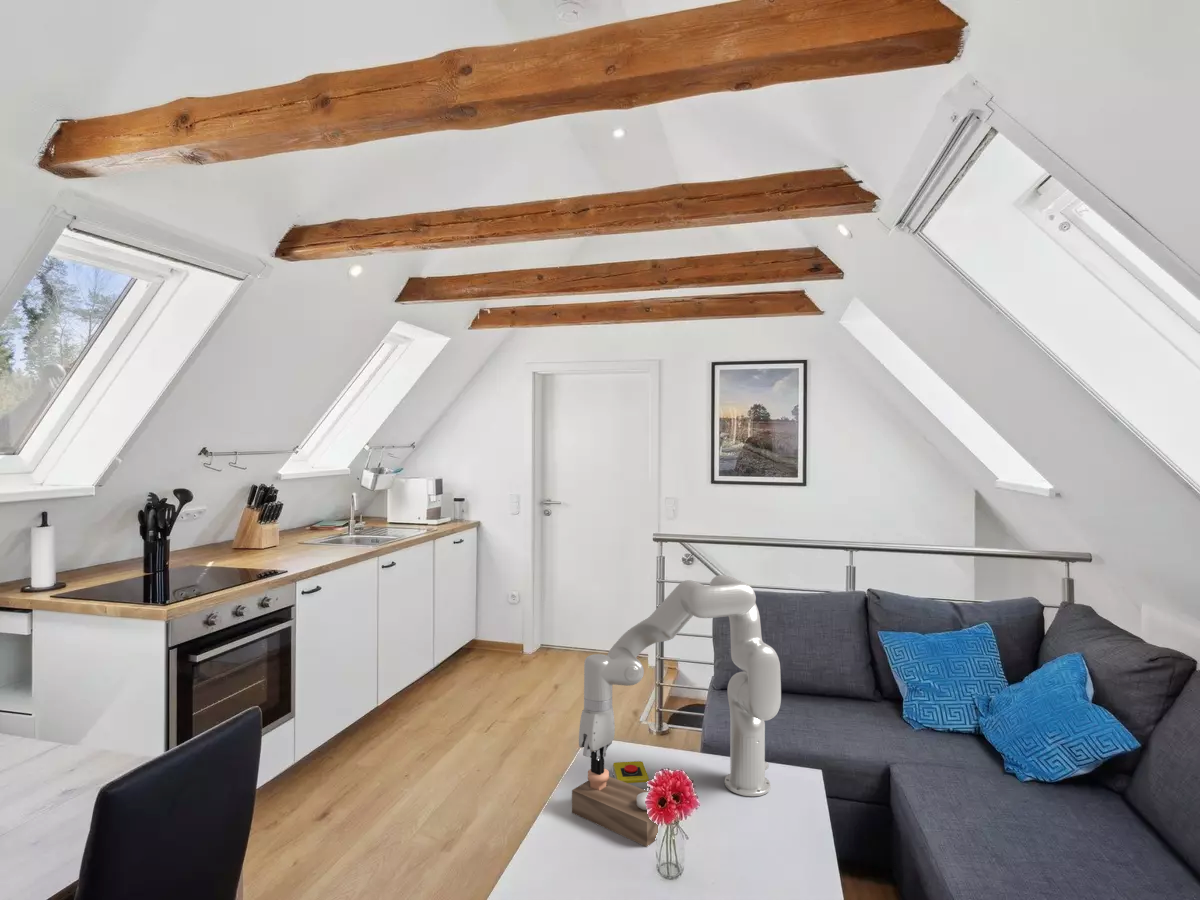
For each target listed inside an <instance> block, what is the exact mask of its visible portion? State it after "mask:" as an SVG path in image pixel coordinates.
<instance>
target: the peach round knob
mask: <svg viewBox="0 0 1200 900" xmlns="http://www.w3.org/2000/svg"><path fill="white" fill-rule="evenodd" d="M609 776H610V772H609V770H608V769H606V768H605V767H604V773H602V774H601V775H598V774H595V773H593V772H591V768H590V769H588V771H587V781H588V780H589V781H590V787H591V788H594V789H596V790H599V791H600V790H601V789H603V788H605V787H606V782H607V781H608V780H609Z"/></svg>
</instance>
